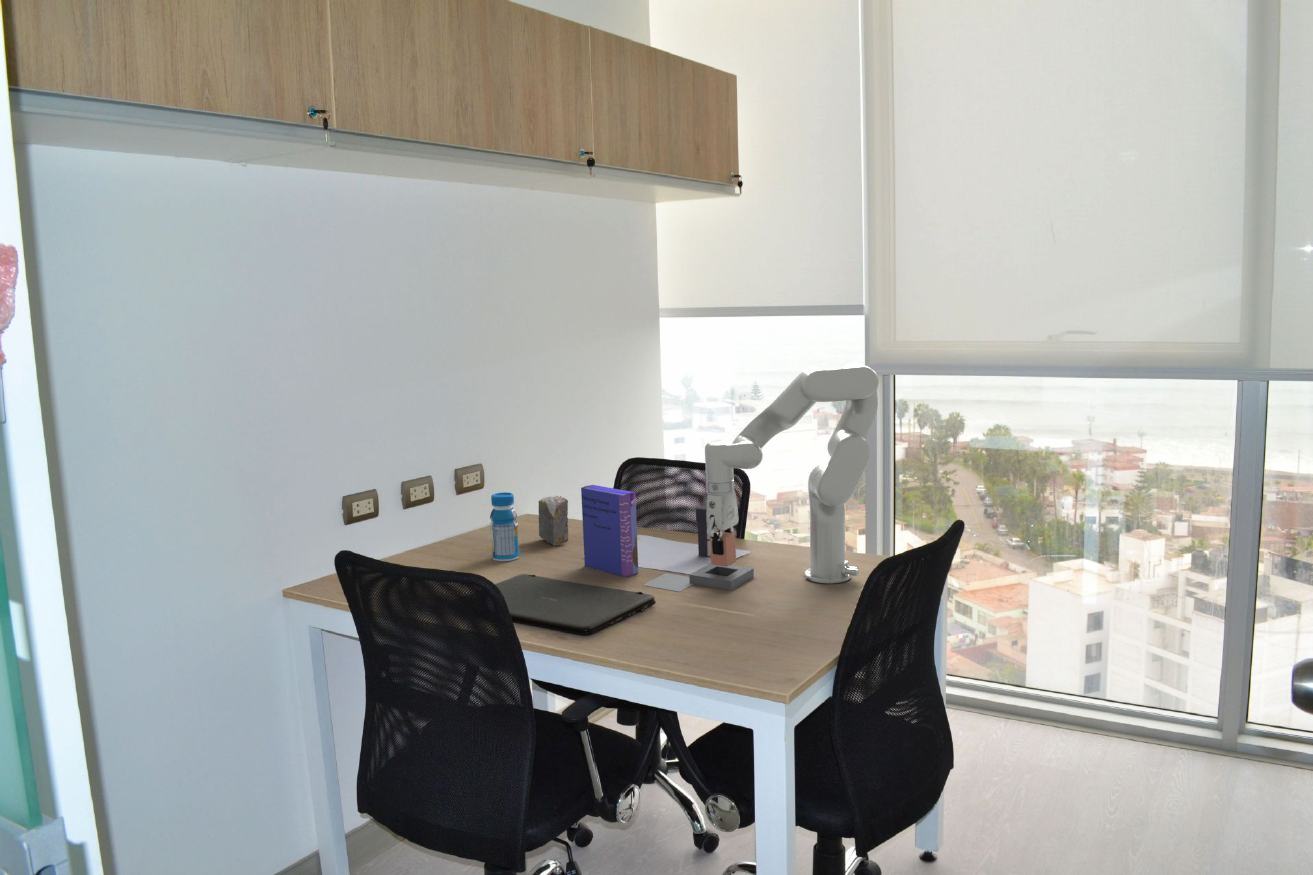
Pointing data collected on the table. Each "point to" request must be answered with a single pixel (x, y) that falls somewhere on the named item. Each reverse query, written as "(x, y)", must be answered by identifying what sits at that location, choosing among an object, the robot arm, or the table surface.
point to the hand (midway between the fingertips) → (723, 550)
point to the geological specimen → (553, 520)
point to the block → (725, 551)
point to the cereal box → (610, 530)
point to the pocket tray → (721, 576)
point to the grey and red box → (703, 531)
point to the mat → (670, 582)
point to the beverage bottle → (504, 527)
